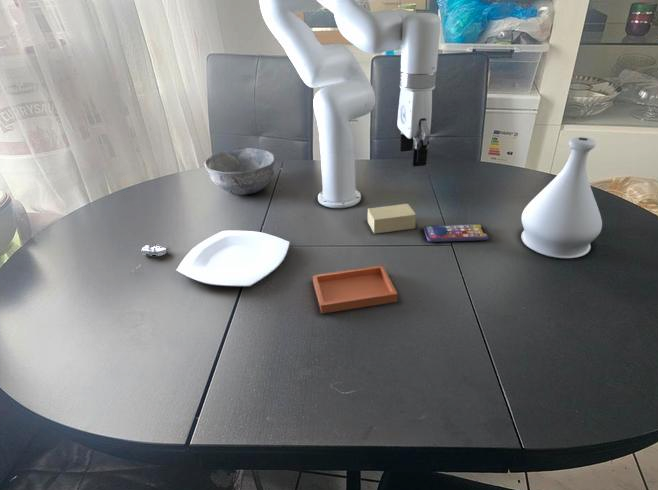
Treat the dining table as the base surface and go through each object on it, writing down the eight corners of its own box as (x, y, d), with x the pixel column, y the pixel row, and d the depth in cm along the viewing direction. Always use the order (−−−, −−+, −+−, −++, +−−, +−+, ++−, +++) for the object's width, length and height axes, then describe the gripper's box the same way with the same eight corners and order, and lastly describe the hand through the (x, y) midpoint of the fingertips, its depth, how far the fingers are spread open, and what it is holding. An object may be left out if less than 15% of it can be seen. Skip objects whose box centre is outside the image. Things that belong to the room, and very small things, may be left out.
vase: (504, 228, 114) (523, 130, 100) (565, 220, 117) (593, 123, 102) (542, 265, 100) (571, 156, 86) (611, 254, 103) (650, 148, 88)
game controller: (170, 247, 110) (168, 238, 109) (156, 274, 101) (153, 265, 99) (147, 248, 110) (144, 239, 109) (130, 275, 101) (127, 266, 99)
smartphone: (422, 228, 115) (480, 226, 115) (427, 242, 109) (489, 240, 109) (423, 225, 114) (481, 223, 115) (428, 239, 108) (489, 237, 108)
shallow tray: (313, 283, 97) (312, 275, 95) (382, 273, 99) (382, 265, 98) (321, 313, 88) (320, 305, 87) (397, 301, 90) (397, 293, 89)
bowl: (260, 208, 127) (256, 175, 121) (197, 201, 132) (190, 169, 126) (288, 180, 143) (285, 149, 138) (231, 174, 148) (226, 145, 143)
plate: (255, 301, 92) (253, 293, 91) (163, 280, 99) (161, 273, 98) (302, 245, 110) (301, 238, 108) (222, 231, 117) (220, 225, 115)
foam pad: (367, 222, 119) (367, 208, 117) (407, 217, 121) (407, 203, 118) (374, 233, 114) (374, 219, 111) (415, 228, 115) (416, 214, 113)
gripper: (389, 73, 101) (387, 146, 111) (413, 90, 87) (408, 173, 97) (421, 71, 102) (415, 144, 112) (449, 88, 88) (440, 170, 98)
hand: (412, 157), depth 105 cm, fingers open, 9 cm apart
